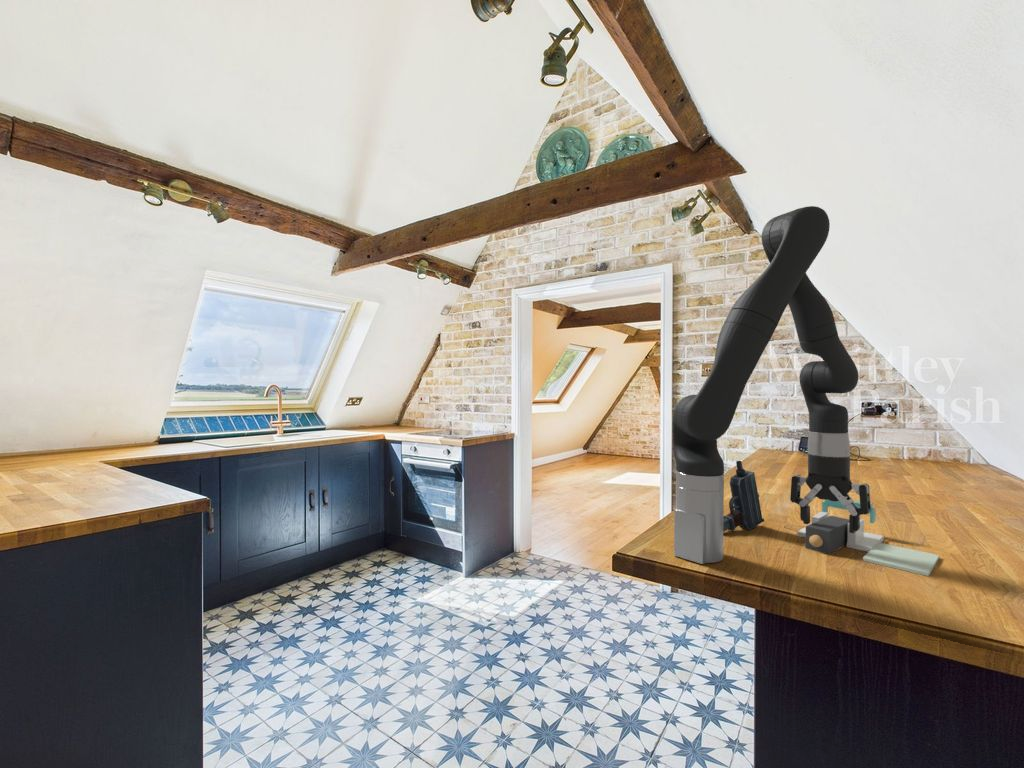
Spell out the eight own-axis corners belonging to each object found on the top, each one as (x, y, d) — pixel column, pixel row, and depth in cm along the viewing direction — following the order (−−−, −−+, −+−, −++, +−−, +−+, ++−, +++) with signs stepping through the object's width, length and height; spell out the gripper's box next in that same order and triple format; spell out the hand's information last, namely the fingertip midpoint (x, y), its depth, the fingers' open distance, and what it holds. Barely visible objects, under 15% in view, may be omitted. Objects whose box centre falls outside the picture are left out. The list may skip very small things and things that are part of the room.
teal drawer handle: (873, 523, 108) (873, 505, 108) (822, 513, 115) (822, 497, 115) (875, 521, 109) (875, 504, 109) (825, 512, 117) (825, 495, 117)
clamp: (871, 552, 99) (871, 529, 99) (797, 535, 109) (797, 514, 109) (883, 540, 107) (883, 518, 107) (813, 525, 117) (813, 506, 117)
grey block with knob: (827, 556, 97) (827, 532, 97) (803, 549, 101) (804, 526, 101) (854, 541, 106) (854, 519, 106) (832, 536, 110) (832, 515, 110)
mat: (928, 576, 87) (928, 573, 87) (862, 560, 94) (862, 557, 94) (939, 558, 96) (939, 555, 96) (878, 545, 103) (878, 542, 103)
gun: (702, 475, 110) (744, 455, 116) (715, 541, 112) (755, 517, 118) (712, 477, 107) (753, 457, 114) (724, 544, 109) (764, 520, 116)
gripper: (873, 454, 97) (874, 532, 97) (797, 447, 108) (798, 517, 108) (864, 458, 92) (864, 540, 92) (785, 451, 103) (786, 523, 103)
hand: (828, 527), depth 100 cm, fingers open, 8 cm apart
